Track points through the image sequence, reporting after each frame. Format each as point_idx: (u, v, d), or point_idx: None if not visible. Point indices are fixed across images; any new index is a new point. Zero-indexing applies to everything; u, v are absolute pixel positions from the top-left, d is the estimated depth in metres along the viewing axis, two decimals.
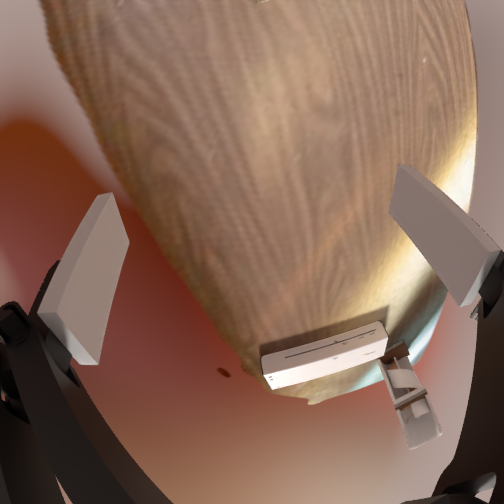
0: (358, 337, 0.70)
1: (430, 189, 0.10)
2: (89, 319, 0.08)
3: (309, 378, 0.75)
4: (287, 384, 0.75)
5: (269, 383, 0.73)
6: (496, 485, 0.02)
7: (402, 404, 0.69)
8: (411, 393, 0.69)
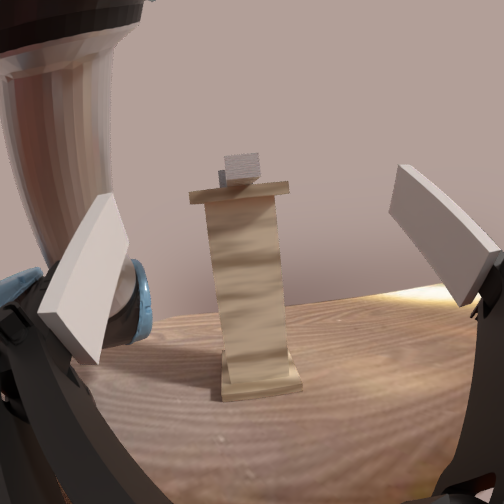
0: None
1: (430, 189, 0.10)
2: (89, 319, 0.08)
3: None
4: None
5: None
6: (496, 485, 0.02)
7: None
8: None
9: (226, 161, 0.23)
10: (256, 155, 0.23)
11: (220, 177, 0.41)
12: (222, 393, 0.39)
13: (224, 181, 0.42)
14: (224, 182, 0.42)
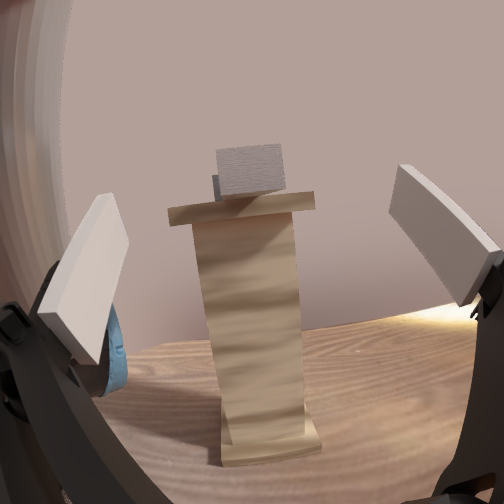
0: None
1: (430, 189, 0.10)
2: (89, 319, 0.08)
3: None
4: None
5: None
6: (496, 485, 0.02)
7: None
8: None
9: (220, 159, 0.12)
10: (277, 148, 0.12)
11: (215, 184, 0.30)
12: (222, 458, 0.28)
13: None
14: None
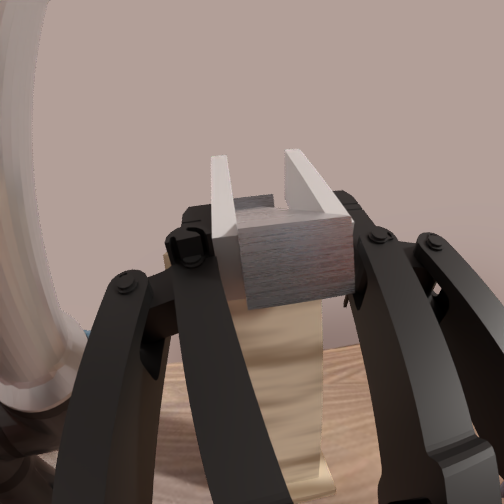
0: None
1: (301, 169, 0.12)
2: None
3: None
4: None
5: None
6: None
7: None
8: None
9: (246, 247, 0.07)
10: (345, 225, 0.07)
11: None
12: None
13: None
14: None
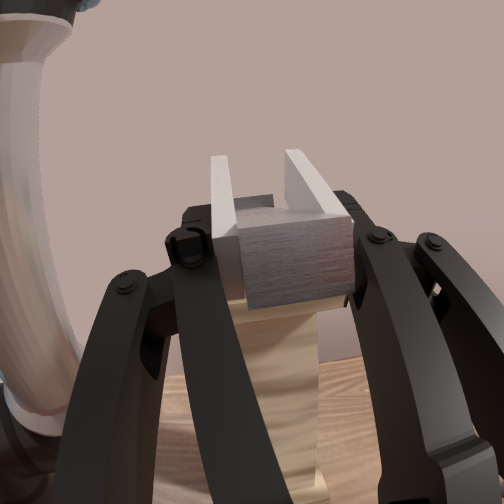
0: None
1: (301, 169, 0.12)
2: None
3: None
4: None
5: None
6: None
7: None
8: None
9: (246, 247, 0.07)
10: (345, 225, 0.07)
11: None
12: None
13: None
14: None
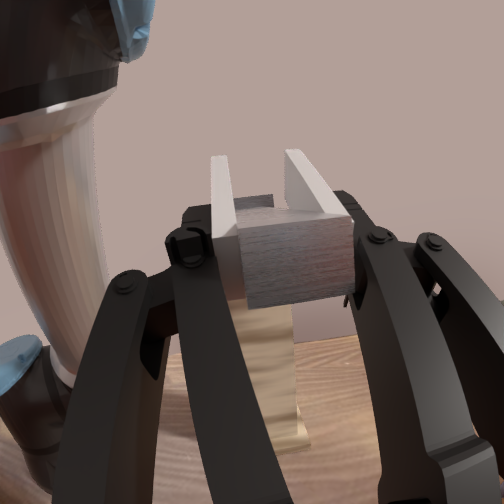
0: None
1: (301, 169, 0.12)
2: None
3: None
4: None
5: None
6: None
7: None
8: None
9: (246, 247, 0.07)
10: (345, 225, 0.07)
11: None
12: None
13: None
14: None
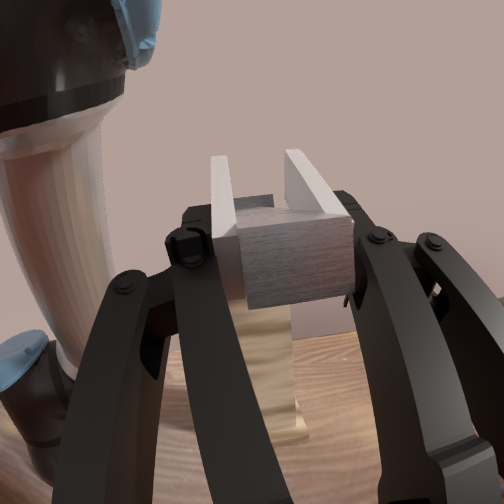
0: None
1: (301, 169, 0.12)
2: None
3: None
4: None
5: None
6: None
7: None
8: None
9: (246, 247, 0.07)
10: (345, 225, 0.07)
11: None
12: None
13: None
14: None
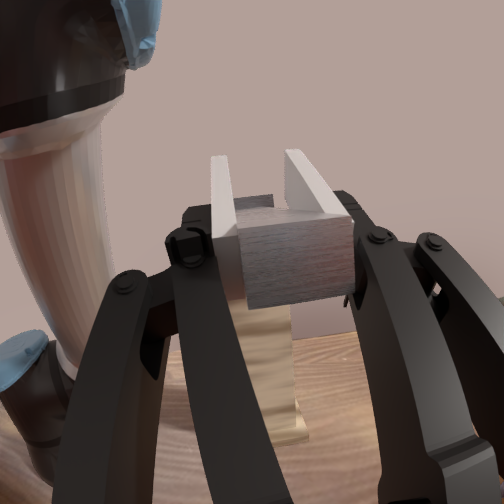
0: None
1: (301, 169, 0.12)
2: None
3: None
4: None
5: None
6: None
7: None
8: None
9: (246, 247, 0.07)
10: (345, 225, 0.07)
11: None
12: None
13: None
14: None
